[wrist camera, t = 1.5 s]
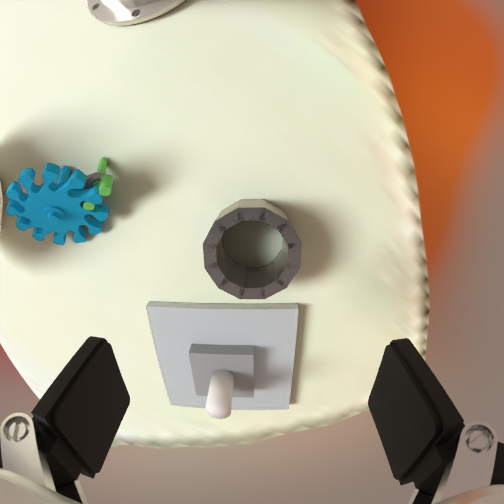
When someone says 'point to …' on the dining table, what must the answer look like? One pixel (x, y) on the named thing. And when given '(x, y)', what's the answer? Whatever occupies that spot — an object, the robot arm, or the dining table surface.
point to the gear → (60, 202)
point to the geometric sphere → (1, 206)
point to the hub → (252, 279)
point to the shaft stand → (225, 354)
